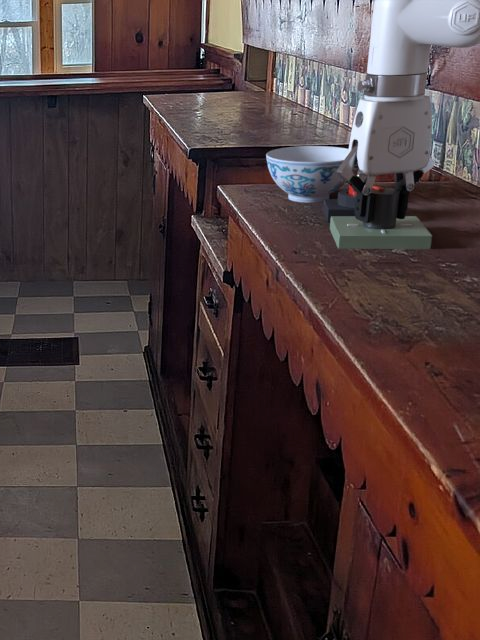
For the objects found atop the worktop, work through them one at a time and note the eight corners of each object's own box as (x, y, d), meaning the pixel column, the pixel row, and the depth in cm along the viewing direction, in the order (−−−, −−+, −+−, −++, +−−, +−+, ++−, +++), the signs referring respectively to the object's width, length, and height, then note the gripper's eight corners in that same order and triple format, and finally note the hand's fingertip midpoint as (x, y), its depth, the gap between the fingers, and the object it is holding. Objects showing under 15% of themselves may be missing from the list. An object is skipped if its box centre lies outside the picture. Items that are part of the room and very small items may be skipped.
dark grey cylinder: (402, 227, 123) (406, 190, 121) (374, 230, 122) (378, 193, 120) (383, 220, 127) (388, 184, 125) (356, 223, 126) (360, 187, 124)
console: (414, 229, 129) (416, 215, 128) (430, 249, 119) (432, 234, 118) (329, 229, 132) (330, 215, 131) (338, 249, 122) (339, 234, 121)
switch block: (388, 212, 139) (391, 187, 137) (396, 223, 133) (399, 197, 131) (322, 212, 141) (324, 188, 140) (327, 223, 135) (329, 197, 133)
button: (371, 192, 137) (372, 181, 136) (374, 197, 133) (375, 186, 133) (346, 192, 137) (347, 181, 137) (349, 197, 134) (350, 186, 134)
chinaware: (312, 213, 141) (316, 165, 138) (245, 198, 153) (247, 154, 150) (373, 198, 148) (379, 152, 145) (304, 185, 160) (308, 142, 157)
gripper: (352, 94, 113) (338, 231, 120) (469, 84, 115) (449, 219, 122) (322, 89, 119) (311, 218, 127) (434, 80, 122) (417, 207, 129)
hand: (379, 217), depth 124 cm, fingers closed on dark grey cylinder, 4 cm apart
